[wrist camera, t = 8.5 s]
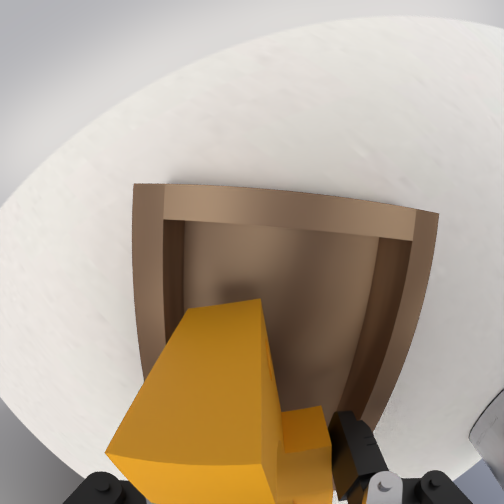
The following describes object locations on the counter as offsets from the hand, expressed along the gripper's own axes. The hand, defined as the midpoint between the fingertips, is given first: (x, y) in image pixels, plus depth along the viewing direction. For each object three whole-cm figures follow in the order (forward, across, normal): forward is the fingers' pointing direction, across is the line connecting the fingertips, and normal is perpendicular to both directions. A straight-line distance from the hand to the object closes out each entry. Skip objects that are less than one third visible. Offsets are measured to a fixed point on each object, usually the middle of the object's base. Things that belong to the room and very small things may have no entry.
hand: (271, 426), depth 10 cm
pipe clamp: (+1, 0, 0) cm, 1 cm away
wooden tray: (+5, 0, 0) cm, 5 cm away
